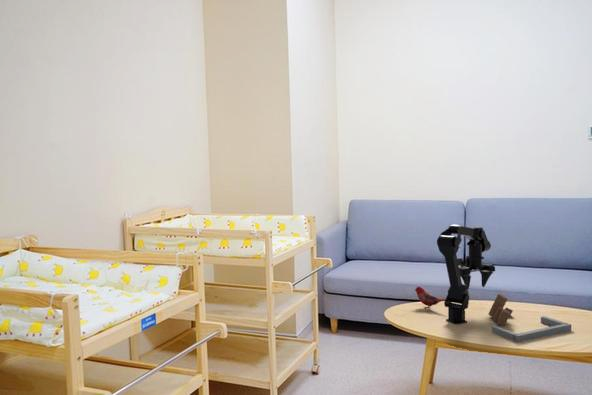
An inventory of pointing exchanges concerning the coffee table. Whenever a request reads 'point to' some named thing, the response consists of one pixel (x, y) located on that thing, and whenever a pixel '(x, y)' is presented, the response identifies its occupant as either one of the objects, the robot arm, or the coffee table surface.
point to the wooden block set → (500, 310)
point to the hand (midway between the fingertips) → (475, 288)
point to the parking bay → (554, 329)
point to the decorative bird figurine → (427, 297)
